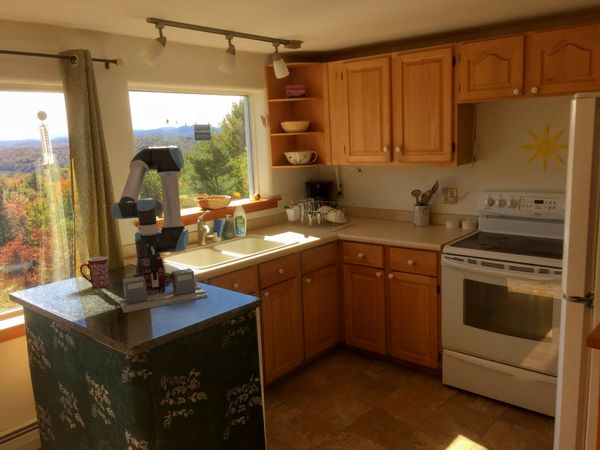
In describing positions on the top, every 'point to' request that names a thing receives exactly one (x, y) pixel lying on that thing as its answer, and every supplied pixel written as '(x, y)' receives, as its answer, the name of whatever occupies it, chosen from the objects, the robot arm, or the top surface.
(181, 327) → the top surface
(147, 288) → the supplement box
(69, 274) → the top surface
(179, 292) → the rail base
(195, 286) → the block
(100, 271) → the mug
